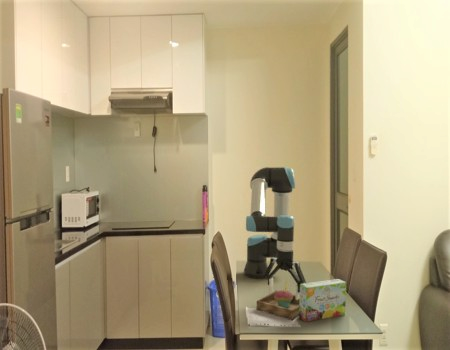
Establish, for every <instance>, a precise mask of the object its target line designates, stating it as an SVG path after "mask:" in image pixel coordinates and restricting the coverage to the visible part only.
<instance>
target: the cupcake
mask: <svg viewBox="0 0 450 350" xmlns="http://www.w3.org/2000/svg"><path fill="white" fill-rule="evenodd" d="M287 284H288V281H287V280H286V281H285V284H284V286H285V287H284V289H283V290H282V289H281V290H276V291H277V292H276V293H275V295H274V299H276V300H277V302H278V305H279V306H280V307H284V308H288V307H289V306H290V302H291V300H292V299H293V295H294V294H293V293H292V292H291V291H289V290H287V286H288V285H287Z"/></svg>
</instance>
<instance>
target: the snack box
mask: <svg viewBox="0 0 450 350" xmlns="http://www.w3.org/2000/svg"><path fill="white" fill-rule="evenodd" d="M346 296H347V281H344V280H342V279H340V278H335V279H334V278H333V279H328V280H320V281H311V282H306V283H303V284H300V299H299V316H298V318H299V319H301V320H302V321H303V322H305V323H307V322H312V321H316V320H317V321H318V320H323V319H329V318H335V317H340V316H345V315H346V304H347V303H346V301H347V298H346Z"/></svg>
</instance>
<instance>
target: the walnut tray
mask: <svg viewBox="0 0 450 350" xmlns="http://www.w3.org/2000/svg"><path fill="white" fill-rule="evenodd" d="M277 291H278V290H275V291H273V292H272V293H269V294H267V295H266V296H264V297H262V298H259V299H258V300H257V301H256V311H260V312H264V313H267V314H271V315H273V316H277V317H280V318H284V319H286V318H287V320H290V319H291V321H294V320H295V319H296V318H299V299H298V300H296V294H292V295H293V299H292V300H291V302H290V306H289V307H288V308H284V307H280V306H279V305H278V302H277V300H276V299H274V295H275V293H276V292H277Z"/></svg>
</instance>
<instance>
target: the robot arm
mask: <svg viewBox="0 0 450 350" xmlns="http://www.w3.org/2000/svg"><path fill="white" fill-rule="evenodd" d="M295 180H296V179H295V173H294V169H293V168H291V167H286V166H285V167H283V166H282V167H281V166H280V167H279V166H278V167H277V166H276V167H269V166H267V167H262V168H260V169H258V170H257V171H256V172H255V173H254V174H253V175H252V177H251V178H250V184H249V188H250V189H251V198H250V199H251V201H250V215H246V219H245V230H246V231H247V232H250V233H251V232H253V233H271V234H270V237H268V235H267V234H255V235H251V236H249V237H248V238H247V243H246V246H247V248H246V263H245V265H244V269H243V275H244V276H245V277H247V278H251V279H263V278H267V285H268V293H269V294H271V293H273V292H274V287H275V286H274V282H275V281H274V276H275V274H277V273H278V271H279V270H282V271H286V272H288V273H289V274H290V275H291V277H292V279H293V280H294V281H295V283H296V285H295V295H296V300H298V299H300V284H303V283H307V281H306V277H305V276H304V274H303V271H302V268H301V265H300V264H301V263H300V261H296V262H295V261H294V233H295V232H294V231H295V229H294V228H295V219H294V216H292V215H290V194H291V193H292V192H293V189H296V181H295ZM267 189H271V192H272V193H273V194H274V196H273V198H274V199H273V216H266V212H267V210H266V208H267V207H266V206H267V203H266V199H267V197H266V195H267V193H266V190H267ZM267 258H268V259H269V258H270V259H269V264H268V262H267ZM275 264H277V265H276V266H275V268H274V269H273V267H274V265H275ZM272 269H273V270H272Z"/></svg>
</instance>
